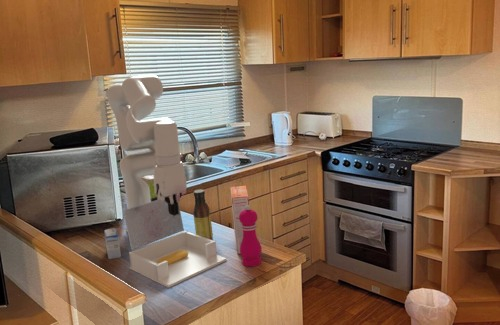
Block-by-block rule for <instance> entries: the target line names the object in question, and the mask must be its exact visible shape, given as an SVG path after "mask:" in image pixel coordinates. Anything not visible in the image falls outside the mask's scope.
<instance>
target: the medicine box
mask: <svg viewBox="0 0 500 325" xmlns="http://www.w3.org/2000/svg"><path fill="white" fill-rule="evenodd" d="M103 233H104V239H105V247H106V253H107V258H108V259H109V260H112V259H117V258H121V256H122V253H121V252H122V251H121V245H120V239H119V233H118V230H117V228H114V227H113V228H108V229H105V230H103Z"/></svg>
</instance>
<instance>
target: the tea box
mask: <svg viewBox="0 0 500 325" xmlns="http://www.w3.org/2000/svg"><path fill="white" fill-rule="evenodd" d="M142 180H143V181H145V182H146V183H147V184H148V186H149V191H150V199H151V202H153V201H156V200H157V198H158V195H156V194H155V191H154V175H149V176H144V177H142Z"/></svg>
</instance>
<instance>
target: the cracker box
mask: <svg viewBox="0 0 500 325" xmlns="http://www.w3.org/2000/svg"><path fill="white" fill-rule="evenodd" d="M230 196H231V198H230V199H231V209H232V210H231V211H232V220H233V222H232V223H233V228H234V229H233V230H234V240H235V246H236V247H235V248H236V252H237V255H241V254H240V245H241V242H242V239H243V230H242V229H241V227H242V226H241V224H242V223H241V222H240V220H239V215H240V213H241V212H242V211H243V210H245V206H246V205H249V206H250V202H249V200H250V199H249V195H248V189H247V186H246V185H239V186H236V185H235V186H231V187H230Z"/></svg>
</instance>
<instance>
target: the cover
mask: <svg viewBox="0 0 500 325" xmlns="http://www.w3.org/2000/svg"><path fill="white" fill-rule="evenodd" d="M178 206H179V214H178V215H177V214H176V215H175V216H174V215H171V214H169V210H168V203H166V202H165V201H159V200H156V201H153V202H149V203H146V204H143V205H140V206H136V207H133V208H130V209H128V208H127V209H124V210H123V216H124V222H125V225H126V232H127V231H128V232H127V234H128V235H127V236H128V240H129V244H130V245H129V246H130V250H131V251H134V250H137V249H139V248H142V247H145V246H147V245H150V244H152V243H155V242H158V241H160V240H163V239H166V238H168V237H171V236H173V235H176V234H179V233H181V232H184V231H185V230H184V229H185V228H184V223H183V220H182V213H181V209H180V207H181V206H180V201H179V202H178Z"/></svg>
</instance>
